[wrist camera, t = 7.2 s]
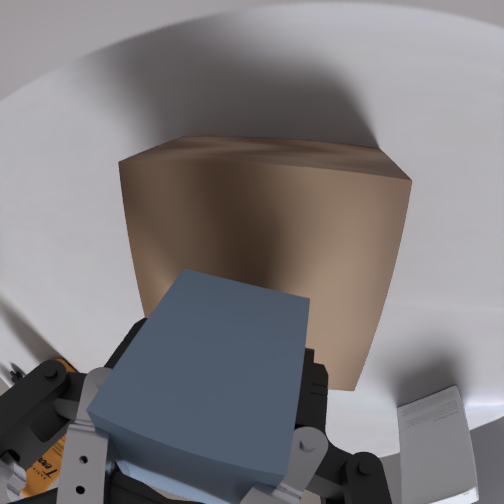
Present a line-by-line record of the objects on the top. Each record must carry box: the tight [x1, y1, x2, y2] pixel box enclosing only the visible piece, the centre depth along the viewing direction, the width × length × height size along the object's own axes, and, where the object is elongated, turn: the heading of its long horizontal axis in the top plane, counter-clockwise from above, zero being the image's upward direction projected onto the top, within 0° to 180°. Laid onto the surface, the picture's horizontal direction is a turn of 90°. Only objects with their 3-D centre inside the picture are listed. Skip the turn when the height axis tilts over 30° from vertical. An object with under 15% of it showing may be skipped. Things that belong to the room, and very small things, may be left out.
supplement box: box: [397, 385, 479, 504], centre depth 23 cm, size 7×7×13 cm
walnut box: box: [118, 136, 412, 391], centre depth 19 cm, size 13×13×8 cm
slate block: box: [86, 268, 310, 504], centre depth 10 cm, size 5×5×7 cm
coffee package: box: [20, 358, 76, 497], centre depth 32 cm, size 10×12×22 cm
